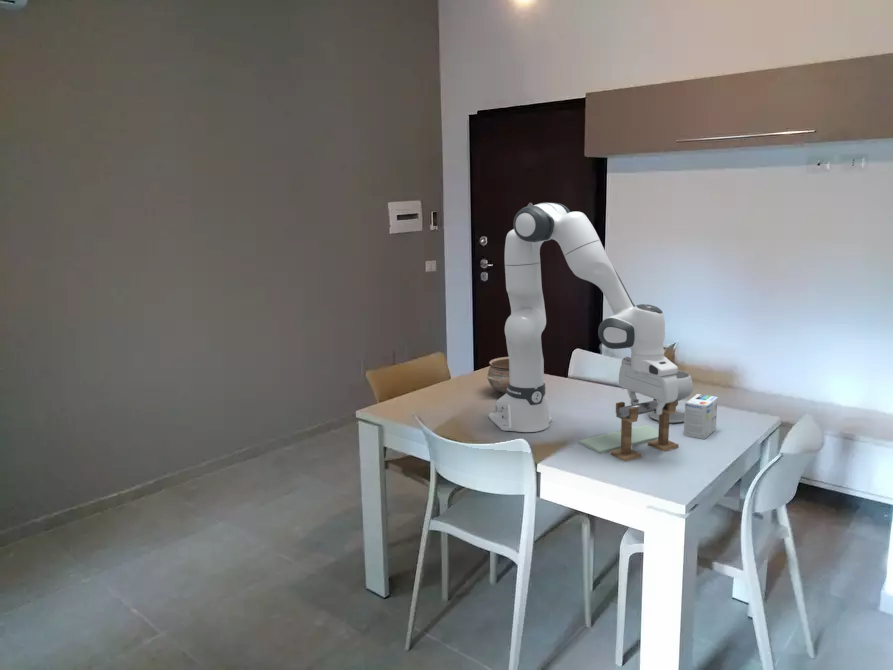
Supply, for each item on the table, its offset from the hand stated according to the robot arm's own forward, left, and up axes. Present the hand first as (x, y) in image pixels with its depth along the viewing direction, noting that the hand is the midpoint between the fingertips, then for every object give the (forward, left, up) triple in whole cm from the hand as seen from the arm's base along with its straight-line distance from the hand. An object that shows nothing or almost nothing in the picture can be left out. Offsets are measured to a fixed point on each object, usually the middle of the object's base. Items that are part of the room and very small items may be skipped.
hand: (645, 409), depth 188 cm
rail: (0, 0, 0) cm, 0 cm away
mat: (-10, +1, -13) cm, 16 cm away
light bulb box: (-3, +25, -13) cm, 28 cm away
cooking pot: (-69, -2, -13) cm, 70 cm away
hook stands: (0, 0, -13) cm, 13 cm away
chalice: (-18, +27, -13) cm, 35 cm away
